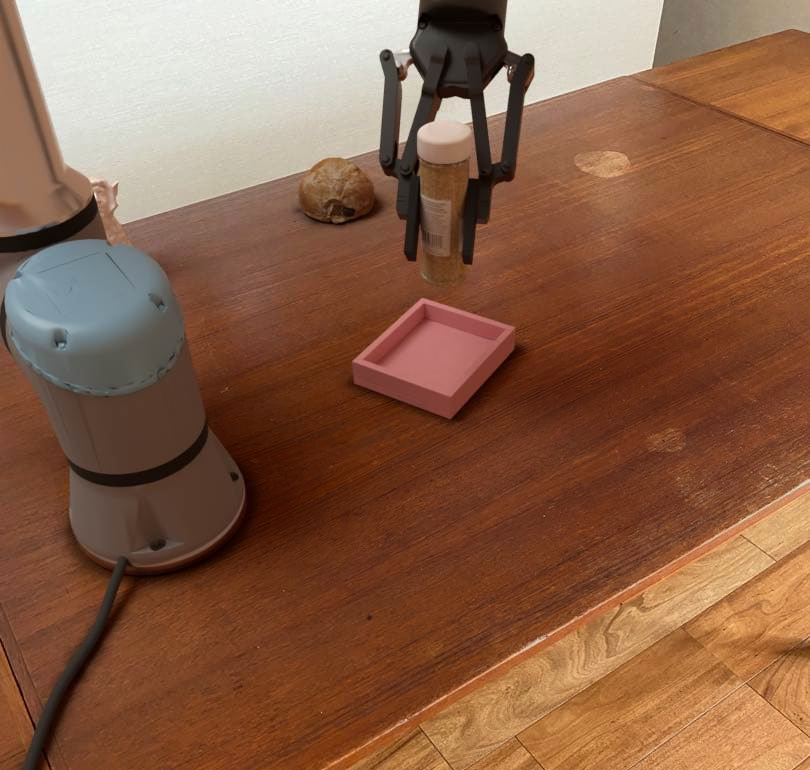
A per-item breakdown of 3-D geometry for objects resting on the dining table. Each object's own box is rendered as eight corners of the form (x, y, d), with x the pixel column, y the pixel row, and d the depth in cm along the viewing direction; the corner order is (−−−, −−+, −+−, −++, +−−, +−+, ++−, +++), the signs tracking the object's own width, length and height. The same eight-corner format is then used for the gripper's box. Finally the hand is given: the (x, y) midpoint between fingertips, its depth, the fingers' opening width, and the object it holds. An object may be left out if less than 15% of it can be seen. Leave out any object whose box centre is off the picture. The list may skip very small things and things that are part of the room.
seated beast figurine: (80, 303, 102) (46, 205, 93) (72, 268, 107) (39, 173, 98) (161, 286, 104) (135, 188, 95) (148, 252, 109) (122, 157, 100)
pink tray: (450, 419, 85) (450, 397, 83) (353, 383, 90) (351, 361, 88) (514, 349, 93) (516, 327, 91) (422, 319, 97) (421, 297, 95)
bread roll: (311, 250, 115) (314, 209, 108) (285, 189, 118) (286, 145, 111) (380, 233, 118) (387, 192, 110) (353, 174, 121) (358, 130, 113)
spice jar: (478, 279, 80) (483, 131, 70) (437, 295, 79) (437, 146, 69) (449, 259, 83) (451, 113, 73) (410, 274, 81) (406, 127, 71)
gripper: (565, 9, 77) (538, 276, 78) (373, 5, 79) (349, 264, 80) (569, -44, 69) (539, 251, 70) (357, -47, 71) (331, 240, 73)
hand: (438, 258), depth 75 cm, fingers closed on spice jar, 4 cm apart
